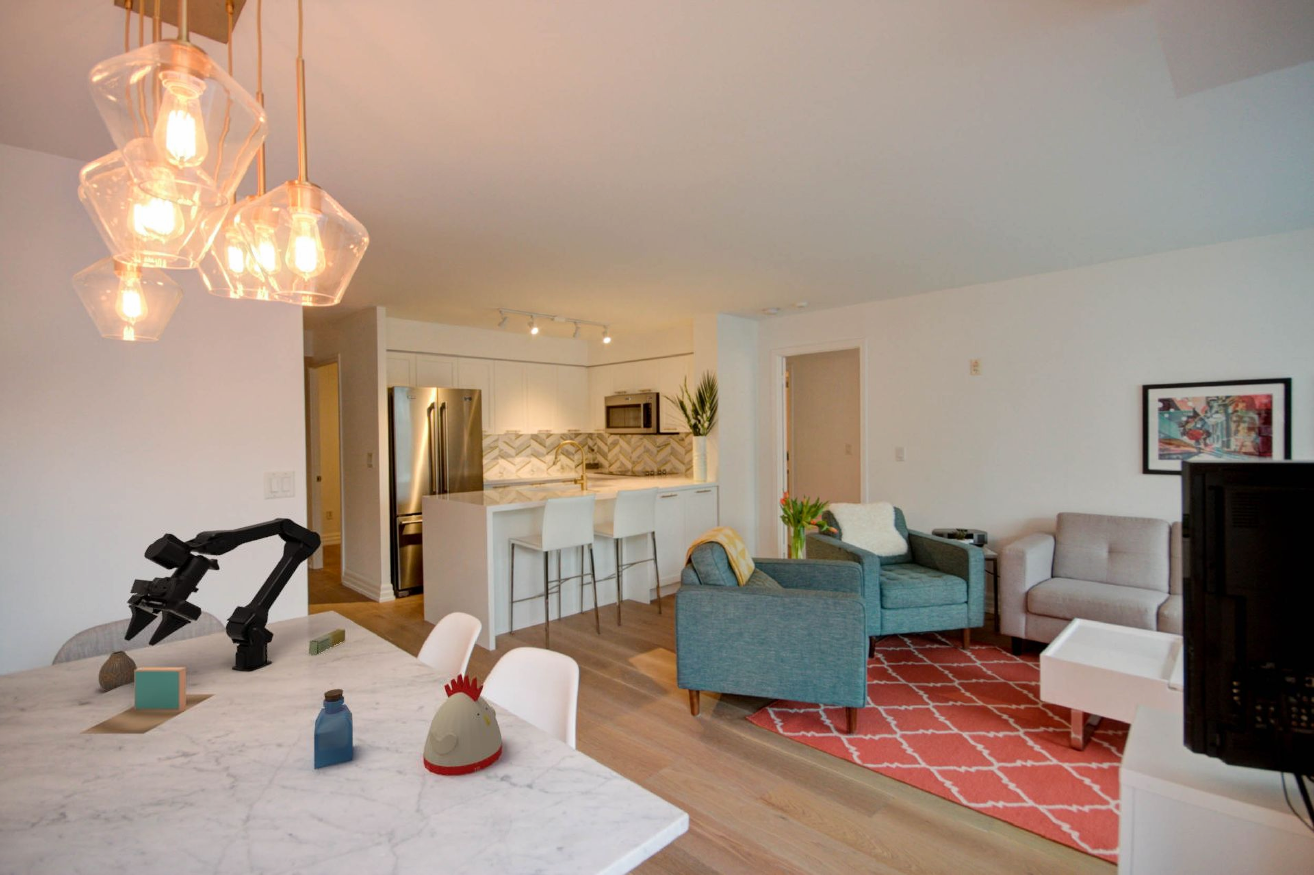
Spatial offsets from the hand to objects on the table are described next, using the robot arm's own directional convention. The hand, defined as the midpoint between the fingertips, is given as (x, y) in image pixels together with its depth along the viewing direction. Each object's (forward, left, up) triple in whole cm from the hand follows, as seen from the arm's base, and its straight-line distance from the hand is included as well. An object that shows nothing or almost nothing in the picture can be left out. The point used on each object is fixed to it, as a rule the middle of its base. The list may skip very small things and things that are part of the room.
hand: (138, 642), depth 137 cm
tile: (+2, +10, -13) cm, 16 cm away
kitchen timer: (0, +84, -14) cm, 85 cm away
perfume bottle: (+7, +61, -14) cm, 63 cm away
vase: (-5, -15, -14) cm, 22 cm away
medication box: (-43, +10, -15) cm, 46 cm away
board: (+4, +11, -14) cm, 18 cm away
